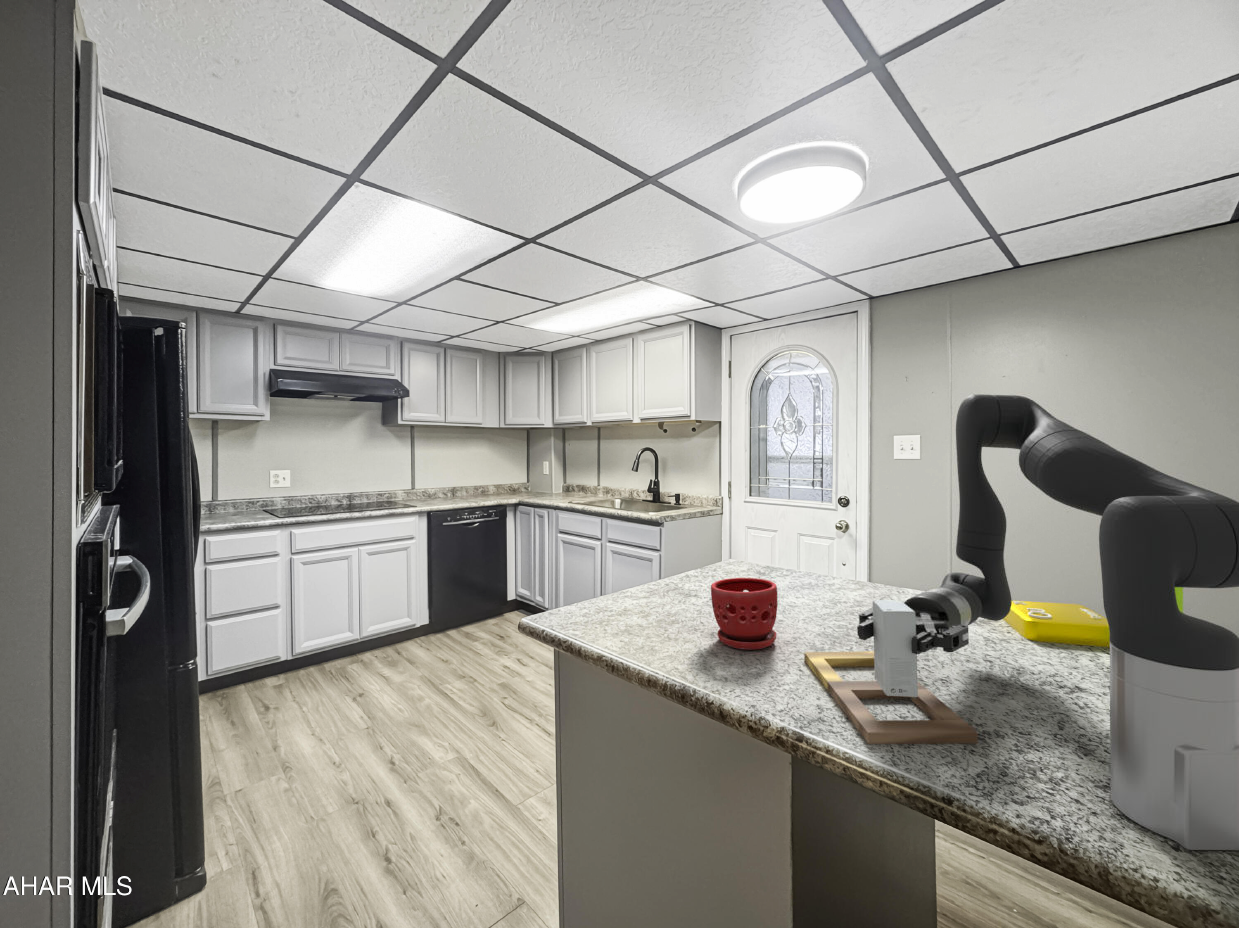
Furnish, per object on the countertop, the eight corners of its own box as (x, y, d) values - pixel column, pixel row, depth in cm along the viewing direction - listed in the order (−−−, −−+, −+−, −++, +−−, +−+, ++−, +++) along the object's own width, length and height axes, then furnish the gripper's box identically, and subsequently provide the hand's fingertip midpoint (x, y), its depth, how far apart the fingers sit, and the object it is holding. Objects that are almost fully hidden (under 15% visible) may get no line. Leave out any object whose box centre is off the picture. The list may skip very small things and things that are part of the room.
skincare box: (919, 698, 71) (916, 612, 71) (886, 696, 72) (883, 611, 72) (904, 679, 77) (901, 599, 77) (873, 678, 78) (871, 599, 78)
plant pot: (777, 632, 109) (776, 576, 109) (779, 657, 97) (778, 593, 96) (715, 628, 113) (713, 574, 113) (709, 651, 100) (707, 590, 100)
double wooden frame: (977, 743, 67) (977, 731, 67) (868, 743, 68) (867, 732, 68) (882, 659, 94) (882, 651, 94) (804, 660, 95) (804, 652, 95)
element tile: (1124, 650, 96) (1124, 624, 96) (1027, 642, 101) (1027, 618, 101) (1083, 624, 110) (1083, 601, 110) (999, 618, 115) (999, 597, 115)
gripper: (889, 583, 89) (838, 602, 79) (987, 600, 77) (941, 625, 67) (891, 627, 89) (839, 651, 79) (988, 650, 77) (943, 682, 67)
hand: (886, 639), depth 73 cm, fingers closed on skincare box, 7 cm apart
